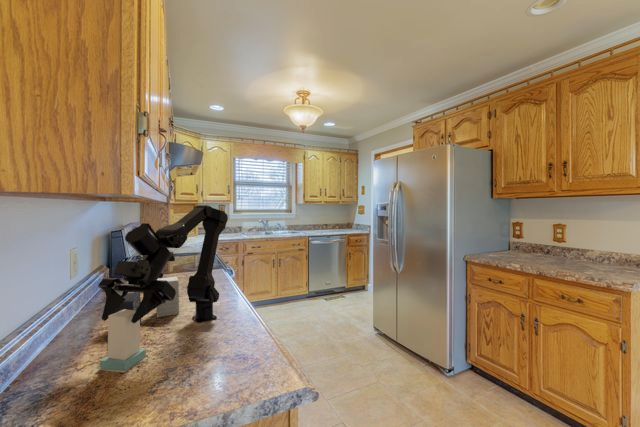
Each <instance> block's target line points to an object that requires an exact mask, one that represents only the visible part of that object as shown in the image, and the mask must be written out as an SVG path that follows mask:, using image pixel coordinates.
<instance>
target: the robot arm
mask: <svg viewBox="0 0 640 427" xmlns="http://www.w3.org/2000/svg"><path fill="white" fill-rule="evenodd" d="M228 218H229V216H228V214H227V213H226V212H225V211H224V210H221V209H218V208H214V207H212V206H210V205H208V204H201V205H200V204H197V205H195V206H194V207H193V209H192V210H190V211H189V212H188V213H186V214H185V215H184V216H182V217H181V218H180V219H179V220H178V221H177V222H175V223H172V224H169V225H165V226H163V227H161V228H159V229H157V230H156V231H155V230H154V229H153V227H152V226H151V224H150V223H148V222H147V223H141V224H140V226H136V227H134V228H133V229H131V230H130V231H128V232H127V233H126V234H125V237H124V241H126V243H127V244H129V246H130V247H131V248H132V249H133V250H134V252H136V253H137V254H138V255H139V256H144V257H143V258H142V259H138V260H137V261H130V260H128V261H127V260H117V261H116V263H115V266H114V269H113V272H112V274H113V275H115V276H116V275H119V276H121V277H123V279H122V280H124V281H126V282H127V283H124V282H123V281H122V280H121V279H120V278H117V277H105V278H102V279H101V281H100V282H99V284H98V285H97V287H98V288H99V289H101V291H103V292H104V293H105V303H104V307H103V311H102V316H101V320H102V321H104V322H106V321H108V316H109V315H111V314H113V313H114V312H115V311H116V310H117V309H118V307H119V306H120V305H121V304H122V303H123V302H124V301H125V300H126V299H125V298H123V297H124V296H126V295H127V293H135V292H137V293H140V294H142V300H141V303H140V305H139V306H138V308H137V310H136V312H135V314H134V316H133V318H132V320H131V322H132V323H136V322H137V321H138V320H140V319H141V320H142V319H143V317H146V315H148V314H149V313H150V312H152V311H153V310H155V309H157V307H158V306H159V305H160V304H162V303H165V302H166V301H173V299H174V297H175V295H176V290H175V289H174V288H173V287H172V286H171V285H170V284H169V282H168V281H163V280H157V279H159V278H164V274H163V270H164V269H165V268H166V265H168V262H175V261H176V259H175V255H174V252H173V251H170V250H169V249H180V248H181V247H183V245H184V244H185V243H186V242H187V240H188V235H189V233H190V232H191V231H192V230H194V229H195V228H196V227H197V226H199V224H201V223H202V224H201V225H202V227H203V230H204V238H203V241H202V245H201V246H202V247H201V251H200V257H199V261H198V266H197V269H196V270H197V271H196V272H195V273H194V274H193V275H190V276H189V278H188V283H187V286H186V288H187V289H186V293H187V297H188V300H189V303H195V315H193V316H191V318H192V320H194V321H196V322H197V323H203V322H208V321H211V320H215V319H217V318H218V317H217V316H216V315H215V314H214V303H217V302H218V300H219V298H220V292H219V291H218V290H217V289H216V288H215V284H216V283H215V282H216V281H215V279H214V276H213V270H214V264H215V258H216V254H217V253H216V252H217V248H218V243H219V238H220V235H221V233H222V232H223V231H224V230H225V229H226V226H227V222H228V220H229V219H228Z"/></svg>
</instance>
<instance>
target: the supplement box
mask: <svg viewBox="0 0 640 427" xmlns="http://www.w3.org/2000/svg"><path fill="white" fill-rule="evenodd" d="M157 280H163V281H168V282H169V284H170V285H171V286H172V287H173V288H174V289H175V290H176V295H175V297H174V299H173V301H166V302H165V303H162V304H160V305H159V306H158V307H156V317H157V318H161V317H169V316H174V315H179V314H180V299H179V298H180V296H179V295H180V294H179V292H180V291H179V289H180V288H179V287H180V286H179V279H178V276H171V277H162V278H158V279H157Z"/></svg>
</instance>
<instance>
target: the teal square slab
mask: <svg viewBox="0 0 640 427" xmlns="http://www.w3.org/2000/svg"><path fill="white" fill-rule="evenodd" d="M146 350H147V349H146V348H139V351H138V352H137V353H135V354H134V355H132V356H130V357H129V358H127V359H126V360H120V359H112V358H108V355H107V356H105V357H104V358H102V359H100V360H99V370H100V369H106V370H118V371H126V370H127V369H129V368H130V367H132V366H133V365H135V364H136V363H138V362H139V361H141V360H142V359H144V358H145V357H147V354H146V353H147V352H146ZM138 364H139V363H138ZM135 366H136V365H135ZM132 368H133V367H132ZM106 370H105V371H106ZM129 370H130V369H129ZM126 372H127V371H126Z"/></svg>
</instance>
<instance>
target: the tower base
mask: <svg viewBox="0 0 640 427" xmlns="http://www.w3.org/2000/svg"><path fill="white" fill-rule="evenodd" d="M146 359H148V357H147V356H146V357H145V358H144V359H142V360H141V361H139V362H138V363H136V364H135V365H133V366H132V367H130V368H129V369H127V370H126V371H118V370H106V369H100V368H99V371H100V370H101V371H108V372H115V373H123V374H124V373H127V372H128V371H129V370H131V369H133V368H134V367H135V366H137V365H138V364H140V363H141V362H143V361H145V360H146Z"/></svg>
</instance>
